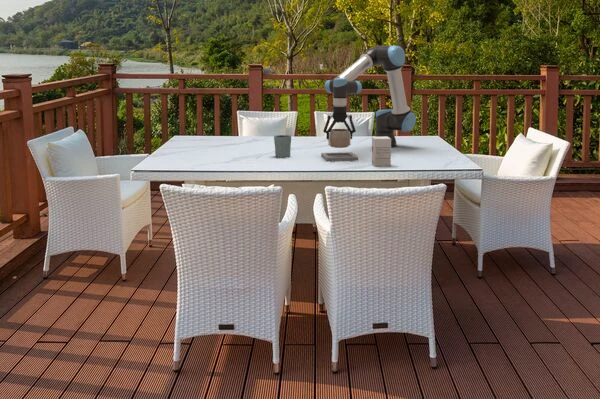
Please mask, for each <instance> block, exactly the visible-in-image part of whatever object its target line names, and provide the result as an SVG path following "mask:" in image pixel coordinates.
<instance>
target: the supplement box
mask: <svg viewBox="0 0 600 399" xmlns="http://www.w3.org/2000/svg"><path fill="white" fill-rule="evenodd" d="M391 154H392V147H391V138H389V137H388V136H385V137H375V136H371V165H372V166H373V167H391V163H392V160H391V158H392V155H391Z"/></svg>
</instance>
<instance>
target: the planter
mask: <svg viewBox="0 0 600 399" xmlns="http://www.w3.org/2000/svg"><path fill="white" fill-rule="evenodd" d="M349 133H350V132H349V130H348V129H347V128H332V129H331V131H330V145H329V147H331V148H336V149H337V148H339V149H342V148H344V149H345V148H349V146H350V145H349Z"/></svg>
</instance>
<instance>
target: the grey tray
mask: <svg viewBox="0 0 600 399" xmlns="http://www.w3.org/2000/svg"><path fill="white" fill-rule="evenodd" d="M320 157H321V159H323V160H324V161H325V162H330V163H335V162H353V161H354V162H355V161H356V160H358V161H359V156H357V155H356V154H354V153H353V152H351V151H350V152H349V151H348V152H346V151H345V152H321V153H320ZM356 162H357V161H356Z"/></svg>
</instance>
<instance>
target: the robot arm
mask: <svg viewBox="0 0 600 399" xmlns="http://www.w3.org/2000/svg"><path fill="white" fill-rule="evenodd" d="M405 62H406V53H405V51H404V49H403V48H402V47H401V46H399V45H395V44H394V45H393V44H392V45H376V46H373V47H371V48H369V49H367V50H366V51H365V52H363V53H362V54H361V55H359V58H358V59H357V60H356V61H355V62H353V63H352V64H351V65H350V66H349V67H347V68H346V69H345V70H343V72H341V73H340V74H338V76H336V77H335V78H333V79H328V80H326V81H325V82H324V89H325V91H326V93H329V94H333V95H332V96H333V97H332V100H333V101H332V104H333V107H332V115H331V114H330V115H329V114H327V116H326V117H327V118H326V122H325V123H324V124H325V125H324V128H323V131H322V132H323V133H325V134H326V137H325V138H326V139H327V145H328V146H330V131H331V129H334V126H335V125H336V123H337V124H339V123H343V124H344V125H345V127H346V129H348V130H349V146H351V141H352V139H353V133H356V131H357V130H356V128H355V125H354V122H353V116H352V115H351V114H349V115H348V114H347V112H348V111H347V110H348V109H347V103H348V102H347V101H348V99H347V98H348V96H347V95H359V94H360V93H361V92H362V91H363V90H362V89H363V85H362V83H361V82H360V81H359V80H356V79H357V78H358V77H359V76H360V75H361V74H363V73H364V72H365V71H367V70H368V69H371V68H373V67H375V66H382V67H383V68H382V69H383V71H384V72H385V73H386V77H387V80H388V81H387V82H388V86H389V93H390V97H391V98H390V99H391V103H392V104H391V105H392V108H388V109H379V110H377V111H376V113H375V133H374V134H375V135H374V137H385V136H388V137H389V138H391V148H394V147H397V139H396V136H395V131H400V132H410V131H412V130H413V129H414V127H415V125H416V122H417V117H416V114H415V113H414V112H412V110H411V107H409V106H408V102H407V98H406V91H405V86H404V80H403V75H402V69H403V67H404V66H403V65H404V64H405ZM331 119H333V120H332V122H331ZM346 119H348V121H349V123H350V125H349V124H348V122H347V121H346ZM330 122H331V124H330ZM329 124H330V126H329ZM350 127H351V128H350Z"/></svg>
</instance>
